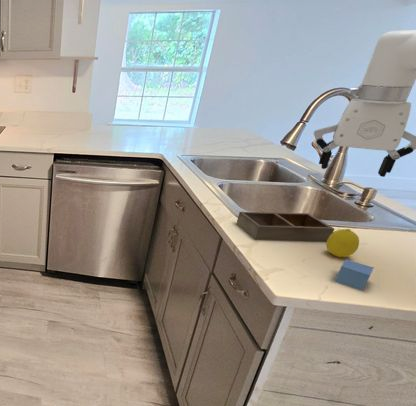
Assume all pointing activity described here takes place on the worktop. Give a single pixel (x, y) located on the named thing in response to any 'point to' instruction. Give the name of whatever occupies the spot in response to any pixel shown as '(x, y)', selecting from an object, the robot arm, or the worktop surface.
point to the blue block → (354, 274)
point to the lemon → (342, 243)
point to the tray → (284, 226)
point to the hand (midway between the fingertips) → (351, 171)
